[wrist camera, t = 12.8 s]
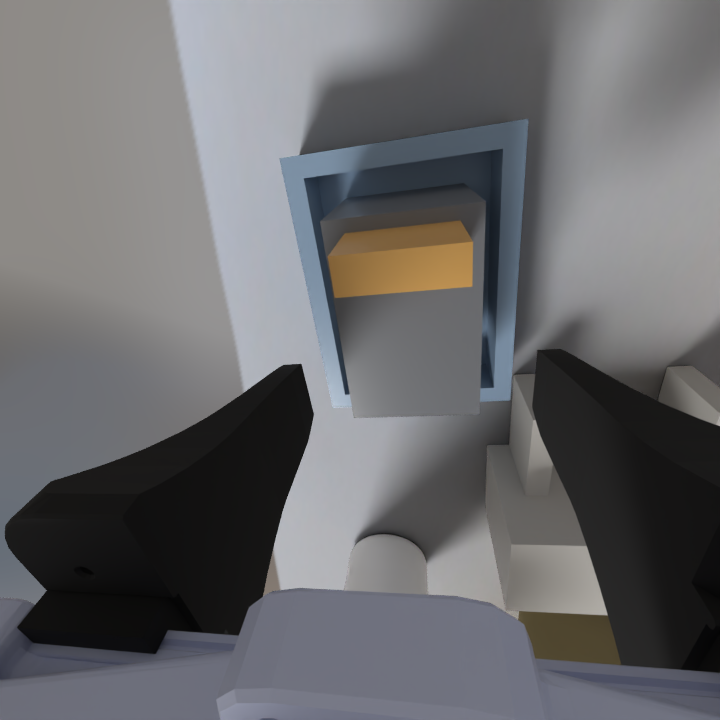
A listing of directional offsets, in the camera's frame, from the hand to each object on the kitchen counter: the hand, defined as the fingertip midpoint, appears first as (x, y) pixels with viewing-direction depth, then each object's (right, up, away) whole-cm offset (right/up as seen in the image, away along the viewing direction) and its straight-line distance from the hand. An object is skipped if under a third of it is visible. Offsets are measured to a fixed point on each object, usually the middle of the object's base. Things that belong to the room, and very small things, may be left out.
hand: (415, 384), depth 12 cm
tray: (0, +5, +5) cm, 7 cm away
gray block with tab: (0, +4, +4) cm, 6 cm away
